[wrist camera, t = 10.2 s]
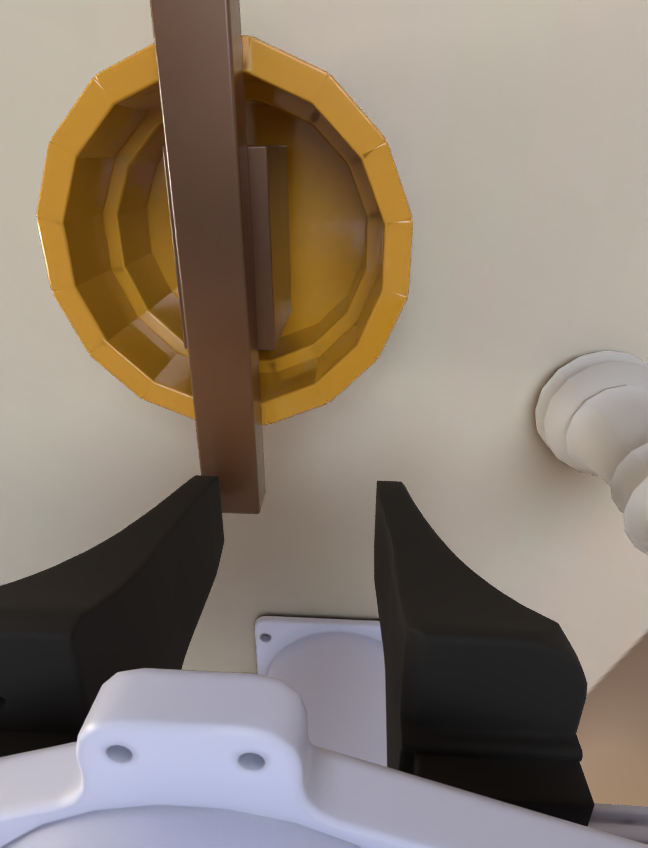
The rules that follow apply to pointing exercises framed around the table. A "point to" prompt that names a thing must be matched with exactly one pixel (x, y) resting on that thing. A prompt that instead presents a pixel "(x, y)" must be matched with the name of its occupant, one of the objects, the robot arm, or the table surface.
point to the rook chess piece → (603, 428)
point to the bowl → (153, 247)
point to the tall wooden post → (222, 236)
